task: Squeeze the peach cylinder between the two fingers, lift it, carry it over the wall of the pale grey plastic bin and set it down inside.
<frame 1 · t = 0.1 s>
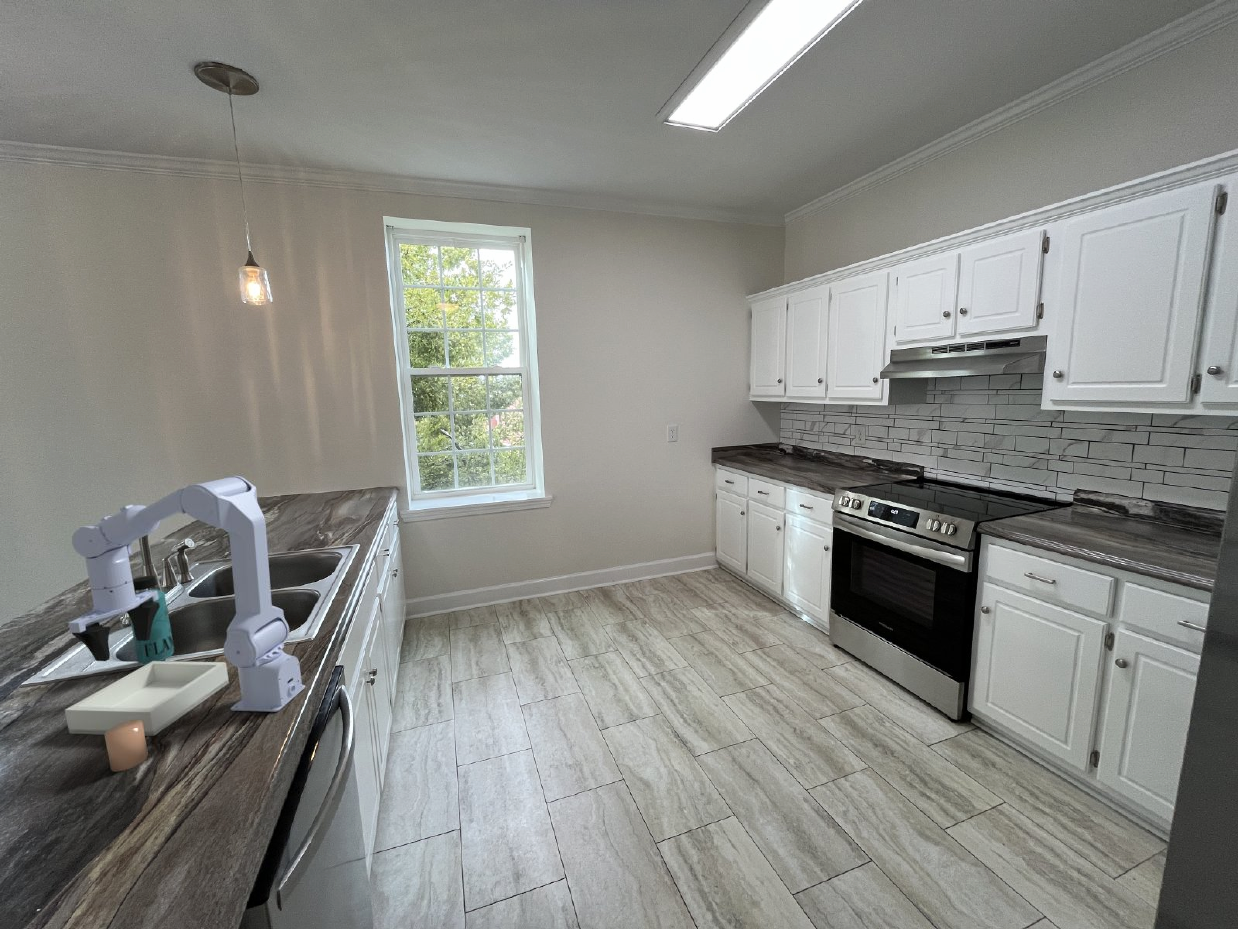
hand: (123, 649, 99), 10 cm above the counter, tool pointing down, fingers open, 7 cm apart
bin: (155, 706, 97), on the counter
peach cylinder: (129, 761, 82), on the counter
beverage bottle: (157, 663, 113), on the counter
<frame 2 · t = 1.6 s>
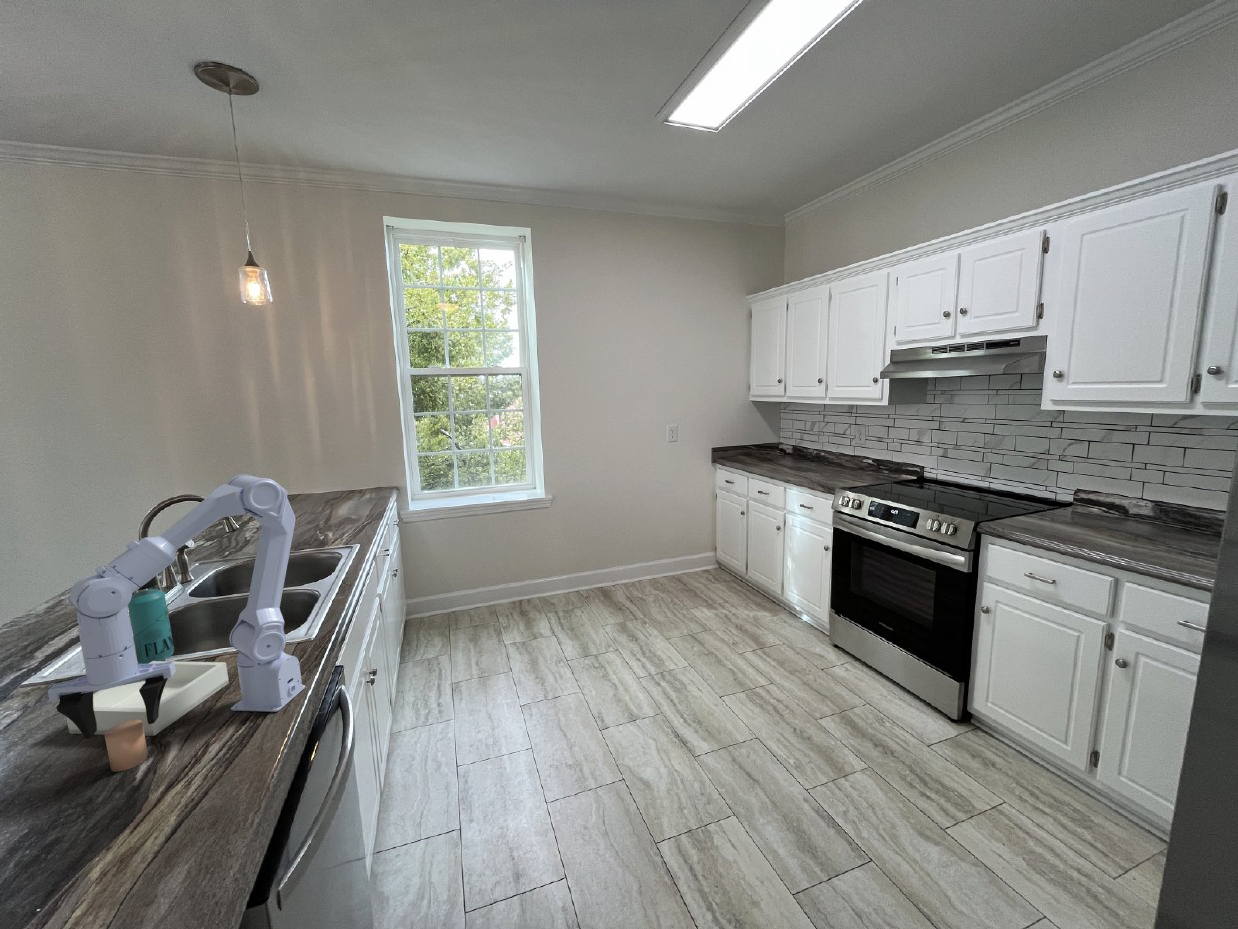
hand: (123, 727, 81), 6 cm above the counter, tool pointing down, fingers open, 7 cm apart
nothing on the counter moved.
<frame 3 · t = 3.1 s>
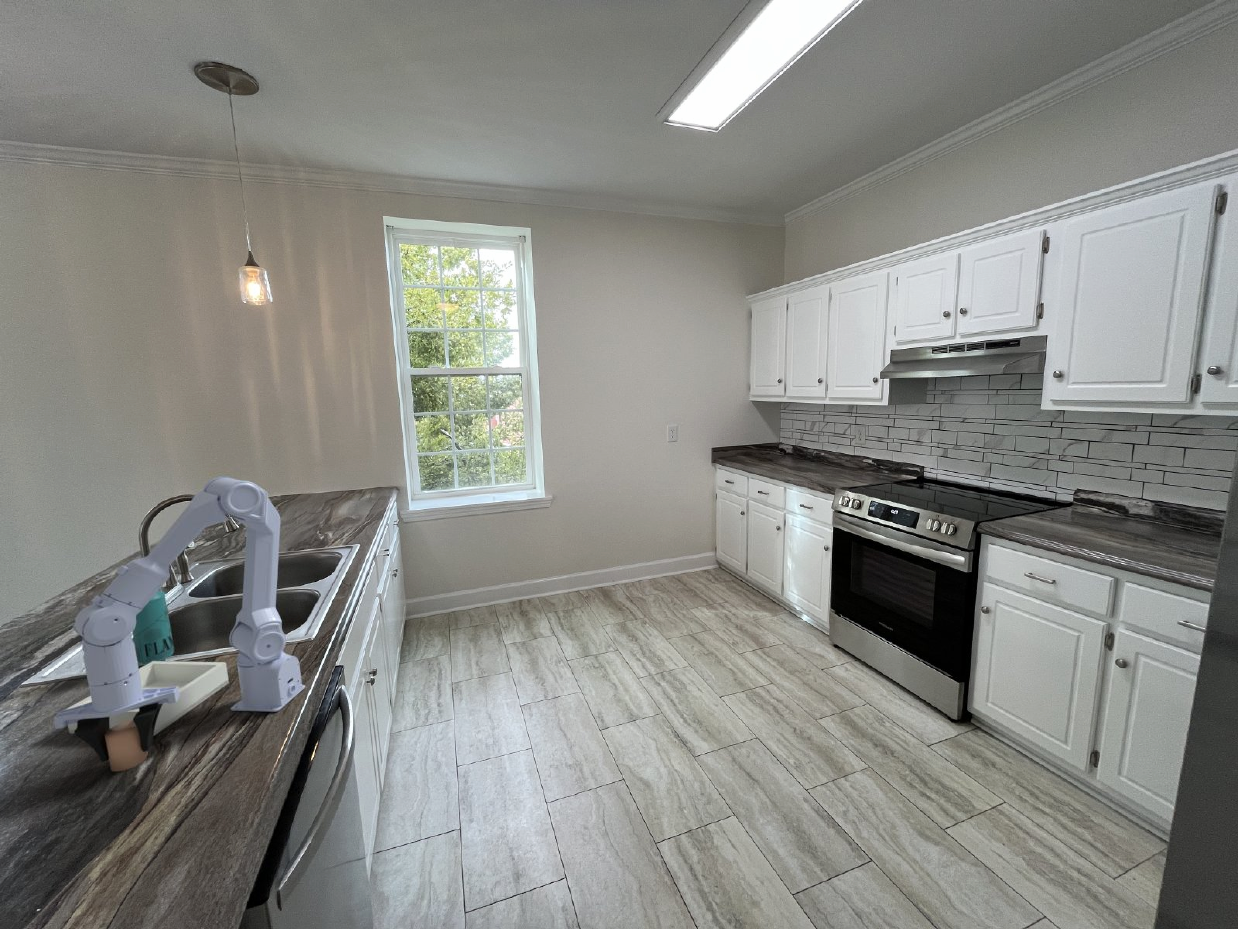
hand: (128, 752, 82), 2 cm above the counter, tool pointing down, fingers closed on peach cylinder, 4 cm apart
peach cylinder: (129, 761, 82), on the counter, touching gripper
everything else where it was.
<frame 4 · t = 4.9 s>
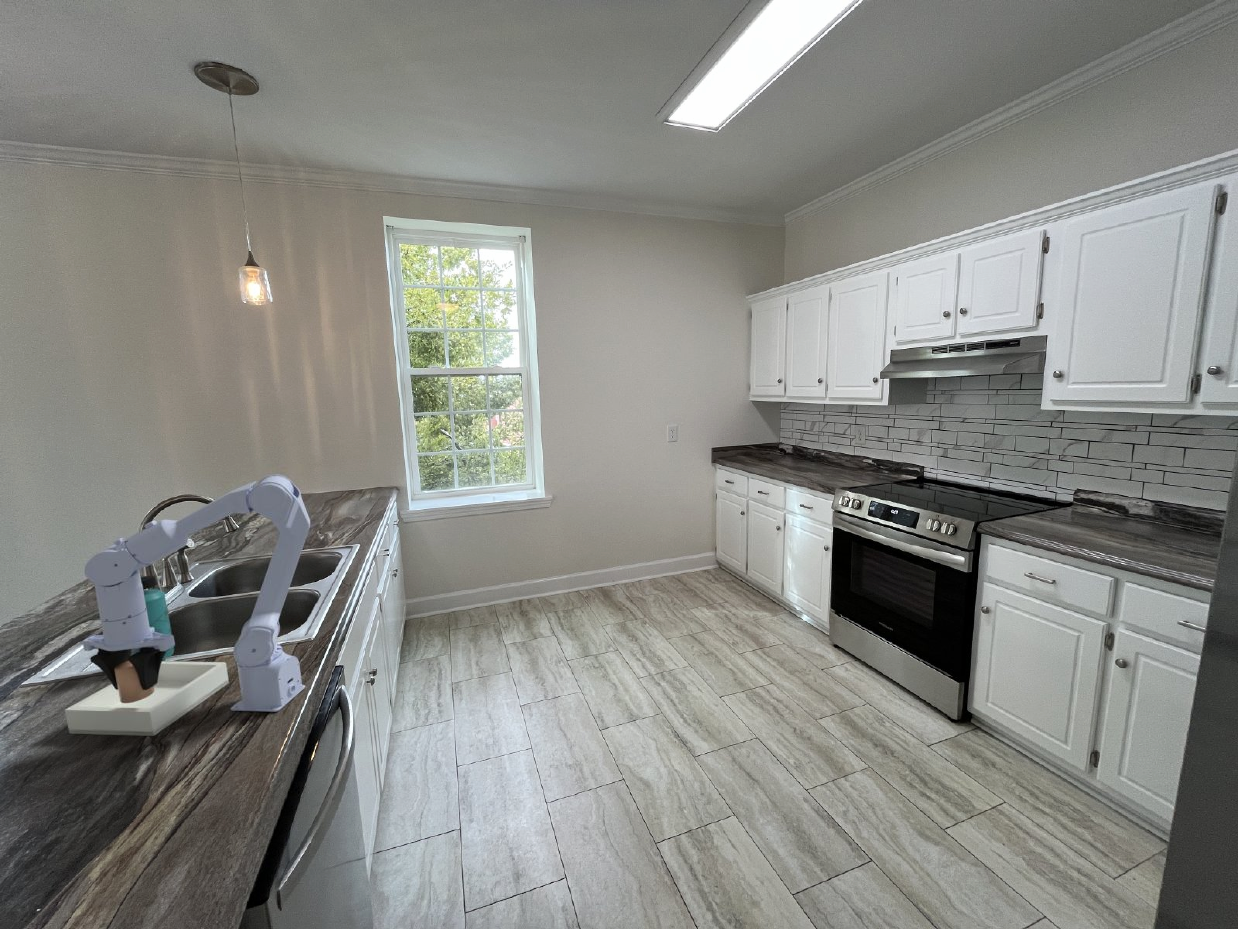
hand: (136, 686, 89), 8 cm above the counter, tool pointing down, fingers closed on peach cylinder, 4 cm apart
peach cylinder: (137, 695, 89), point 7 cm above the counter, touching gripper
everything else where it was.
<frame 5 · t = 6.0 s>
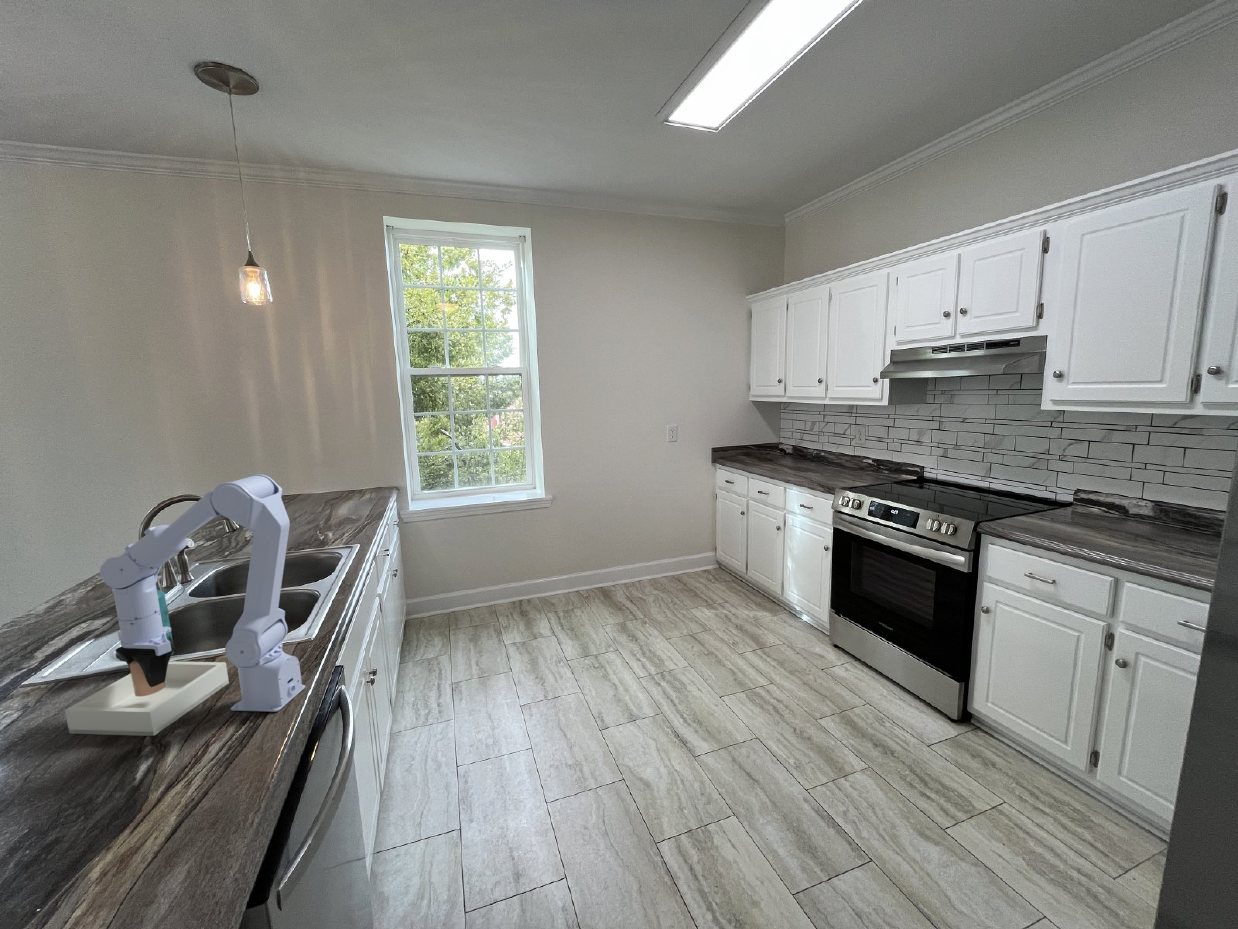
hand: (150, 681, 96), 5 cm above the counter, tool pointing down, fingers closed on peach cylinder, 4 cm apart
peach cylinder: (150, 689, 96), point 4 cm above the counter, touching gripper
everything else where it was.
when the fingers open (4 cm above the counter, at t = 6.7 s): peach cylinder drops 2 cm, resting on bin.
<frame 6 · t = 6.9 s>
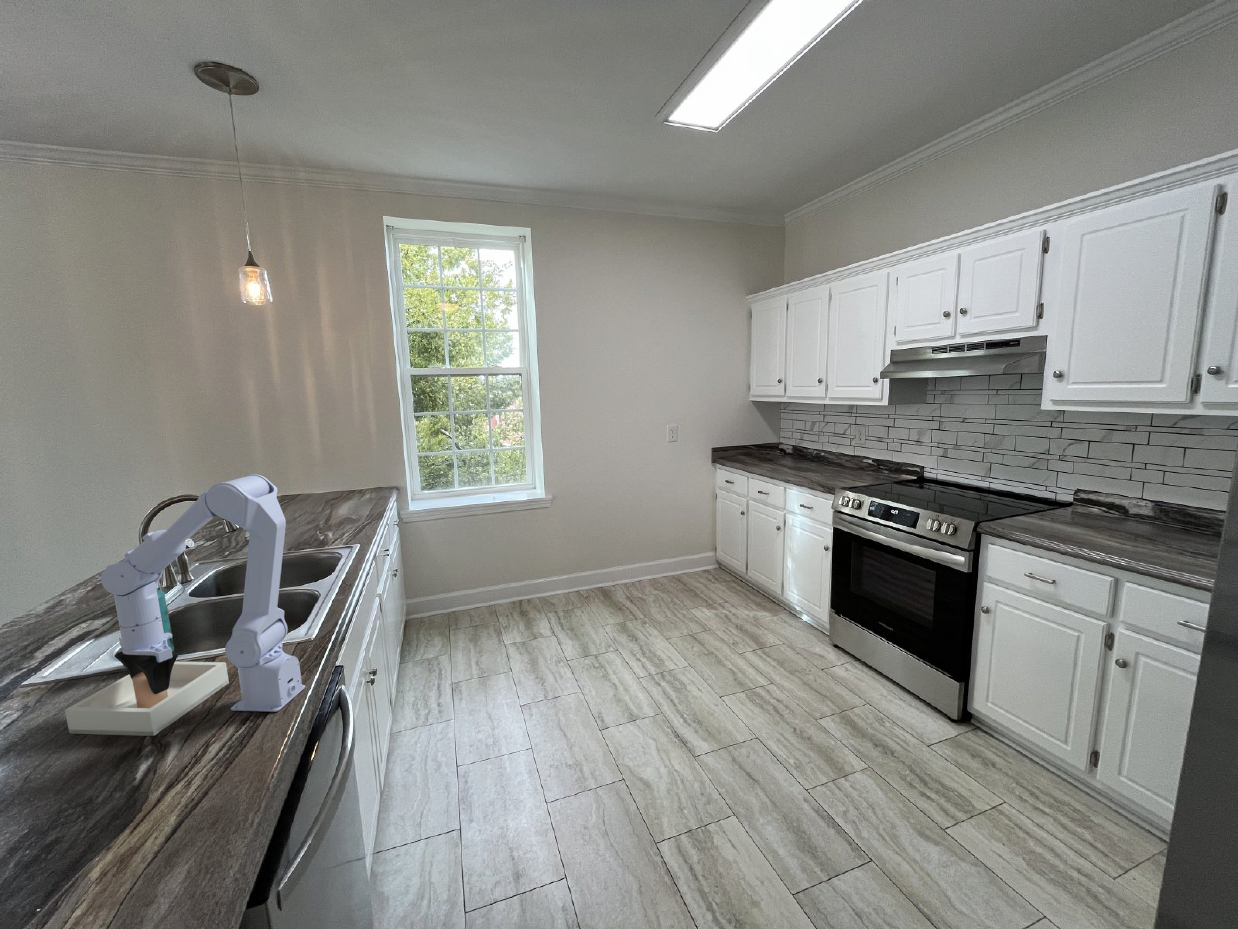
hand: (152, 687, 96), 4 cm above the counter, tool pointing down, fingers open, 6 cm apart
peach cylinder: (153, 703, 97), point 1 cm above the counter, touching bin
everything else where it was.
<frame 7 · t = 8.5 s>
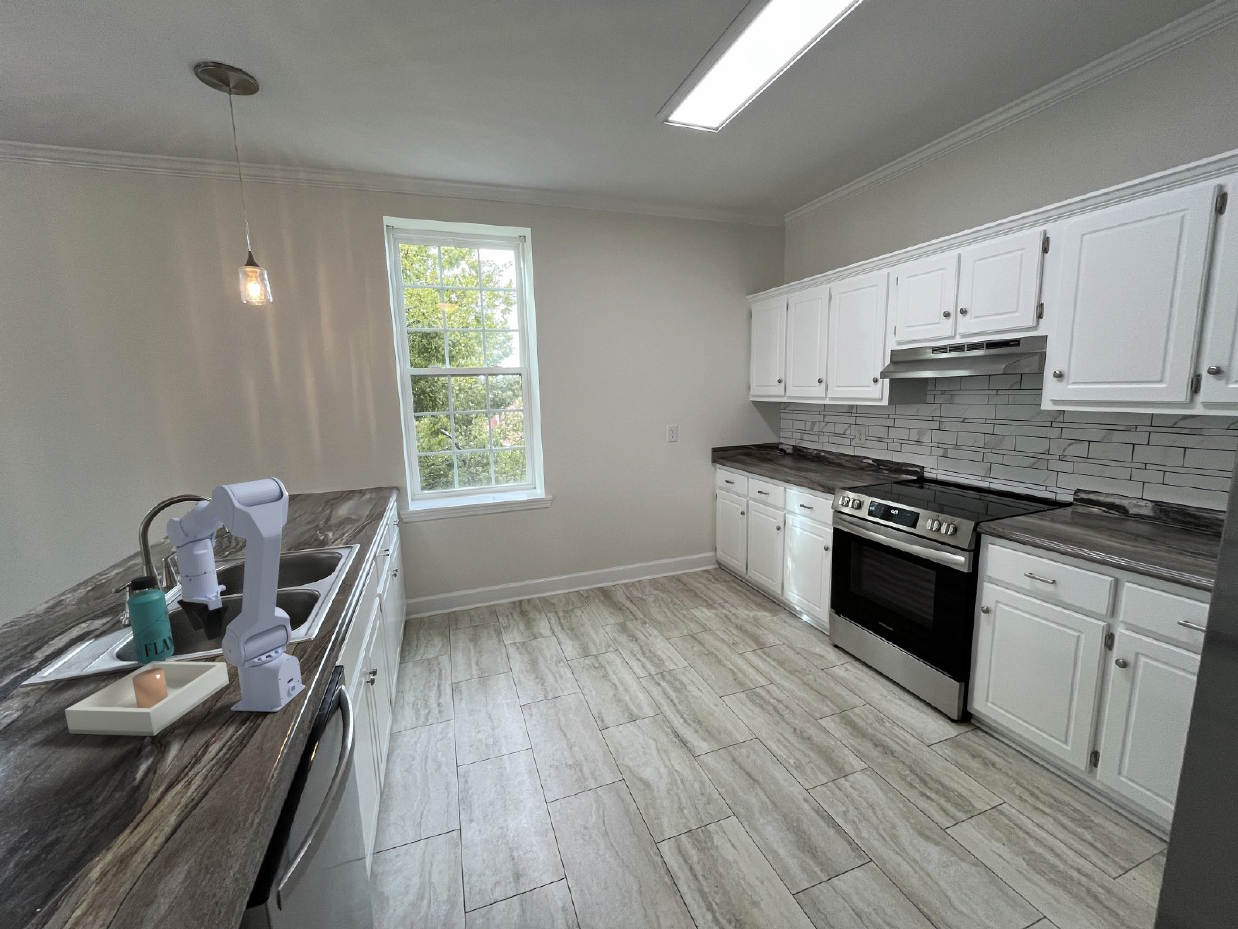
hand: (207, 633, 106), 9 cm above the counter, tool pointing down, fingers open, 7 cm apart
nothing on the counter moved.
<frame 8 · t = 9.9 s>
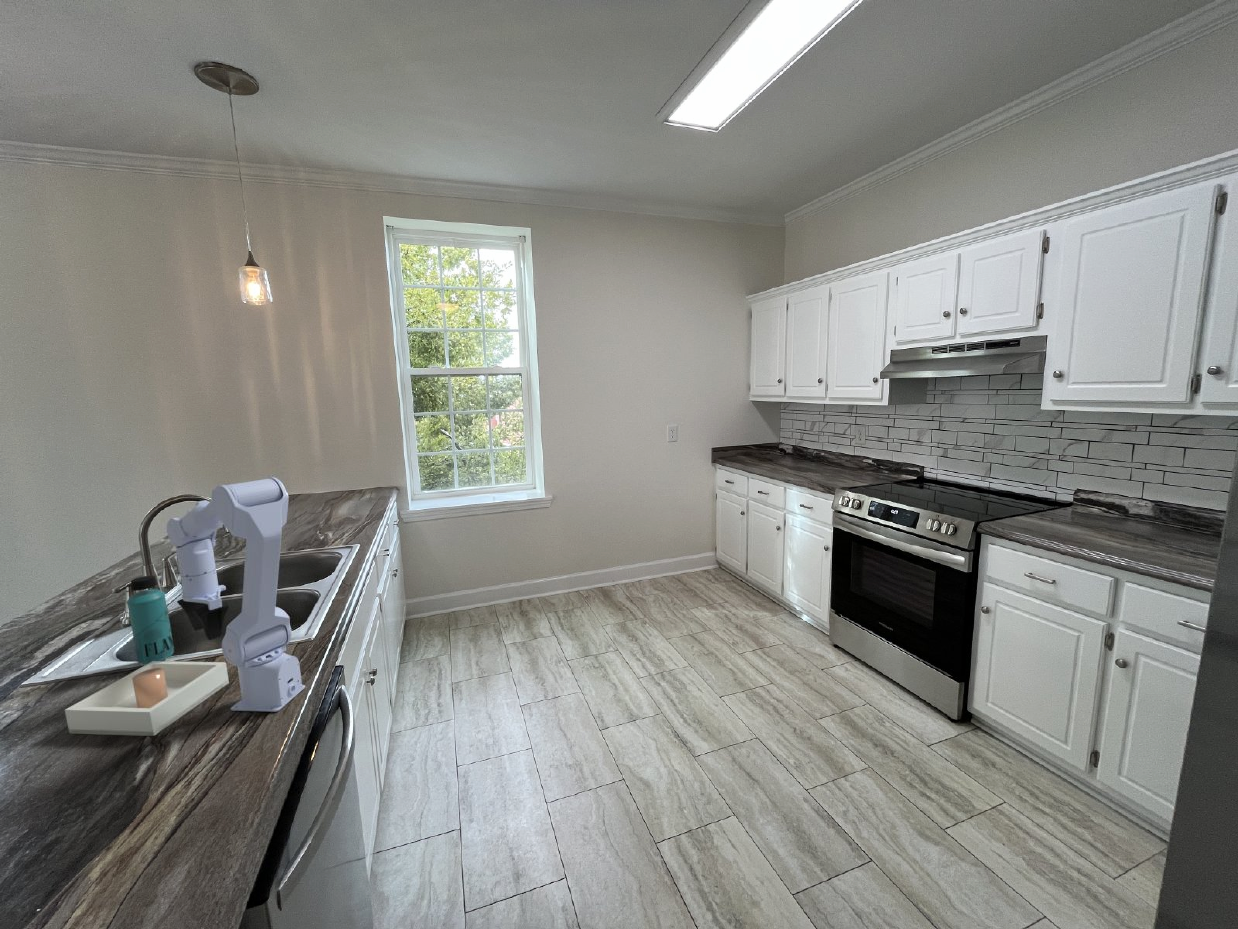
hand: (207, 633, 106), 9 cm above the counter, tool pointing down, fingers open, 7 cm apart
nothing on the counter moved.
at the end: peach cylinder inside the target area on the bin (0.2 cm from its centre), point 0.8 cm above the bin's base; peach cylinder tilted 0°; the gripper is holding nothing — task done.
